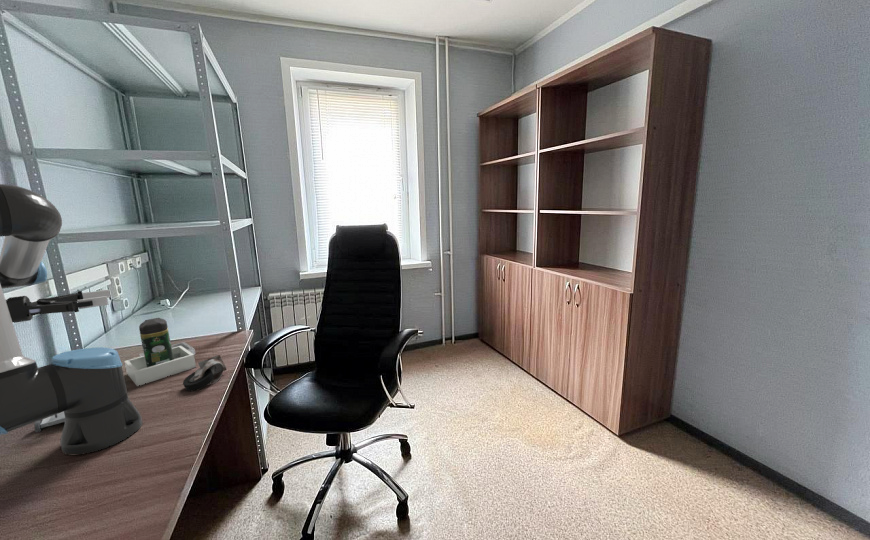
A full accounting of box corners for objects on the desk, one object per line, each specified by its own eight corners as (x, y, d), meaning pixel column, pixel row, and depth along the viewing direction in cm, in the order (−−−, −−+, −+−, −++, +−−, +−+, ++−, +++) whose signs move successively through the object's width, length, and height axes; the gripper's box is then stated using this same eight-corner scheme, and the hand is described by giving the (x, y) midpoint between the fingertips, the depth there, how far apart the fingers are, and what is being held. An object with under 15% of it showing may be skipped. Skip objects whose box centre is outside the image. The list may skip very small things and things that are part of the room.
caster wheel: (187, 400, 109) (190, 382, 118) (226, 384, 114) (227, 368, 122) (178, 384, 107) (182, 367, 115) (218, 368, 111) (219, 353, 119)
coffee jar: (147, 367, 126) (138, 319, 123) (174, 361, 131) (165, 314, 128) (147, 376, 119) (137, 326, 116) (175, 369, 124) (166, 320, 121)
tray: (196, 367, 127) (193, 354, 126) (137, 386, 114) (134, 372, 113) (183, 357, 136) (180, 345, 136) (127, 374, 123) (124, 361, 123)
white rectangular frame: (195, 354, 139) (194, 348, 138) (148, 368, 127) (147, 362, 127) (185, 347, 147) (184, 341, 147) (140, 359, 136) (139, 353, 135)
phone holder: (87, 389, 94) (23, 405, 87) (95, 421, 96) (33, 440, 89) (96, 367, 108) (42, 379, 101) (102, 395, 110) (49, 409, 103)
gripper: (22, 314, 110) (112, 300, 123) (0, 333, 91) (109, 315, 105) (16, 291, 108) (108, 280, 122) (-8, 306, 90) (104, 291, 103)
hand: (108, 296), depth 113 cm, fingers open, 13 cm apart
